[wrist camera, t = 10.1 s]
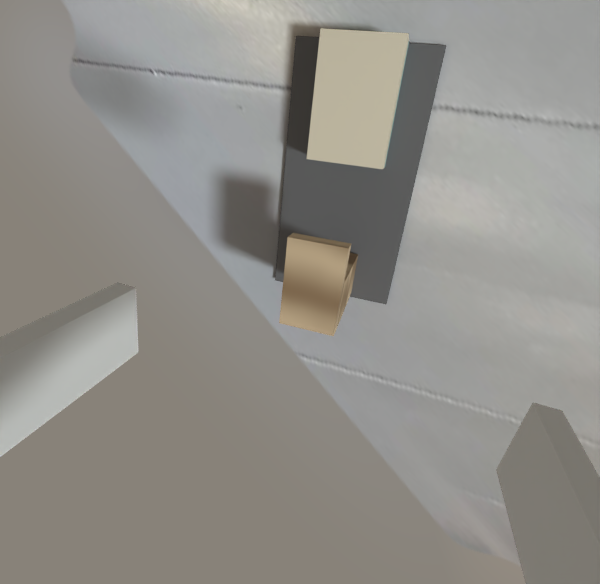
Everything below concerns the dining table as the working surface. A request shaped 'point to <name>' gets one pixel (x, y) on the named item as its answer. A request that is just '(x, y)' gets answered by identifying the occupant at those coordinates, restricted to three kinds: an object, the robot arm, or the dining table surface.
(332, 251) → the oak shelf
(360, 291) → the mat
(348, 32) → the two-tone tile
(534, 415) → the robot arm
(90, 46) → the dining table surface
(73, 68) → the dining table surface
